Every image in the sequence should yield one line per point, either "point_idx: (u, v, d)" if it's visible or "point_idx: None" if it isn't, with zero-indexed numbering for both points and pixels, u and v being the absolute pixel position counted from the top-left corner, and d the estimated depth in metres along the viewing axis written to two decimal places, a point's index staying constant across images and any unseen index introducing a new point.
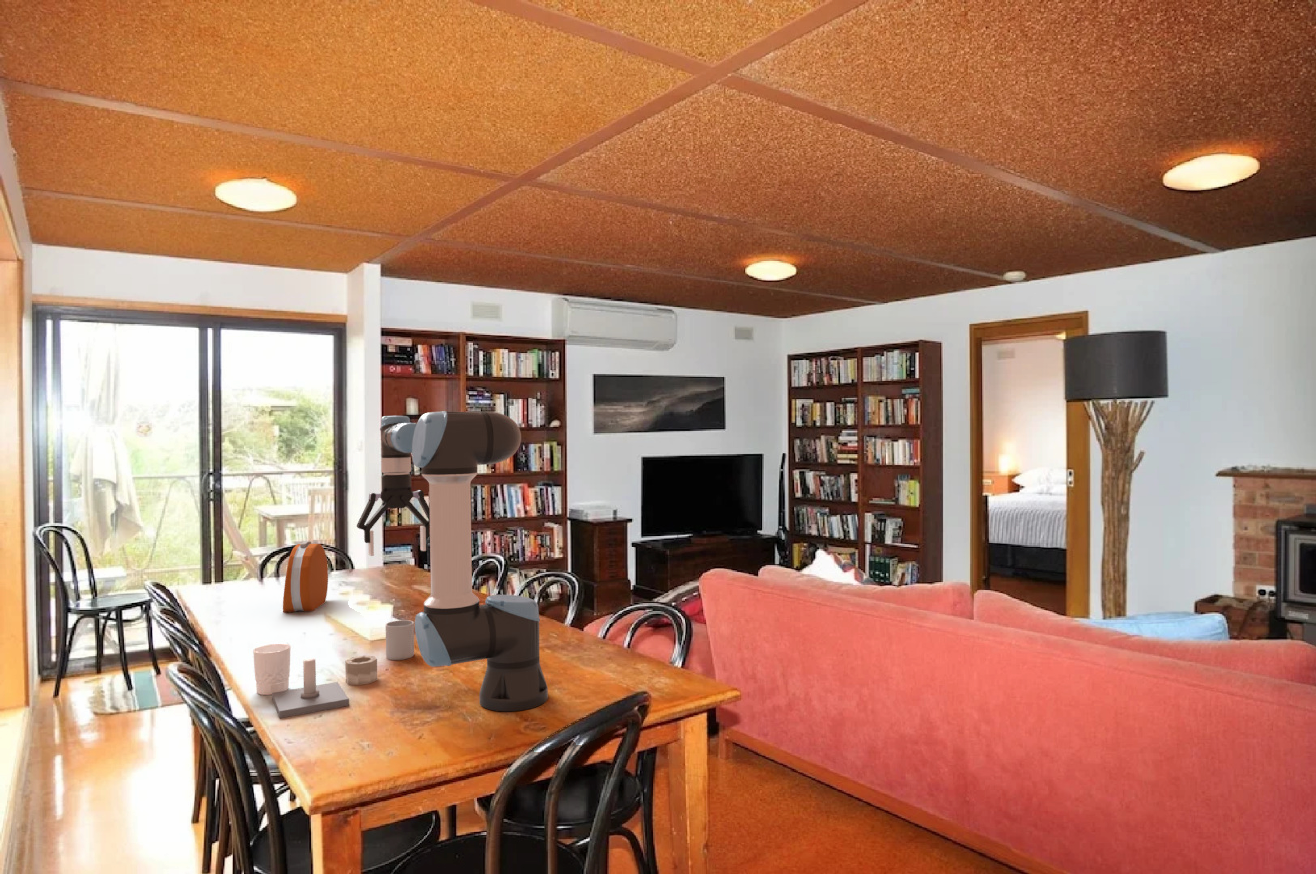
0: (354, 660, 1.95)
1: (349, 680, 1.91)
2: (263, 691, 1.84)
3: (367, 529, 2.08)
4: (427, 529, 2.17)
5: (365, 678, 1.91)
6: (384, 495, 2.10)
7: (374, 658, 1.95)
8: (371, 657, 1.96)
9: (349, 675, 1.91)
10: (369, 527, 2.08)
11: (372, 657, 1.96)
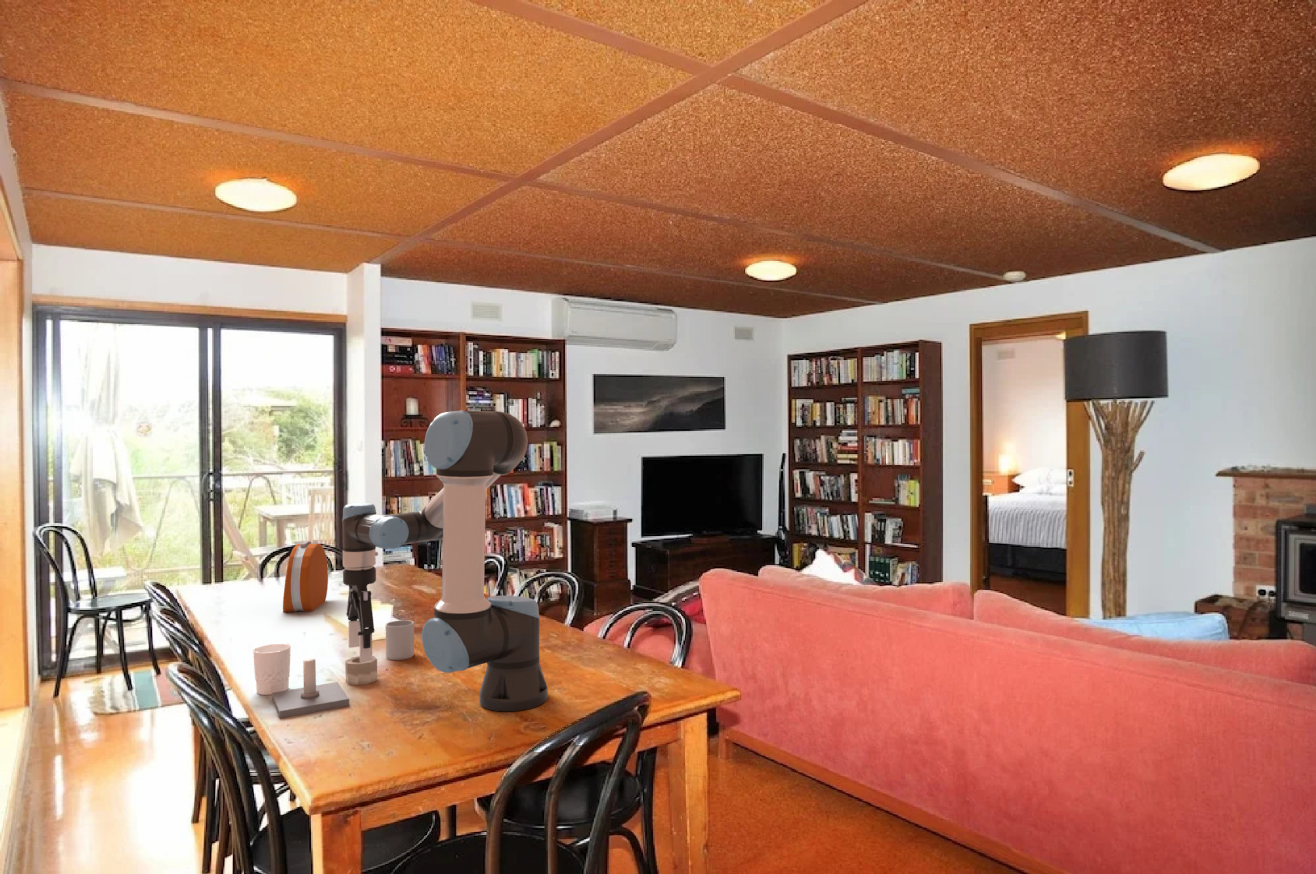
0: (354, 660, 1.95)
1: (349, 680, 1.91)
2: (263, 691, 1.84)
3: (348, 618, 2.00)
4: (363, 638, 1.87)
5: (365, 678, 1.91)
6: (352, 587, 1.96)
7: (374, 658, 1.95)
8: None
9: (349, 675, 1.91)
10: (348, 617, 2.00)
11: (372, 657, 1.96)
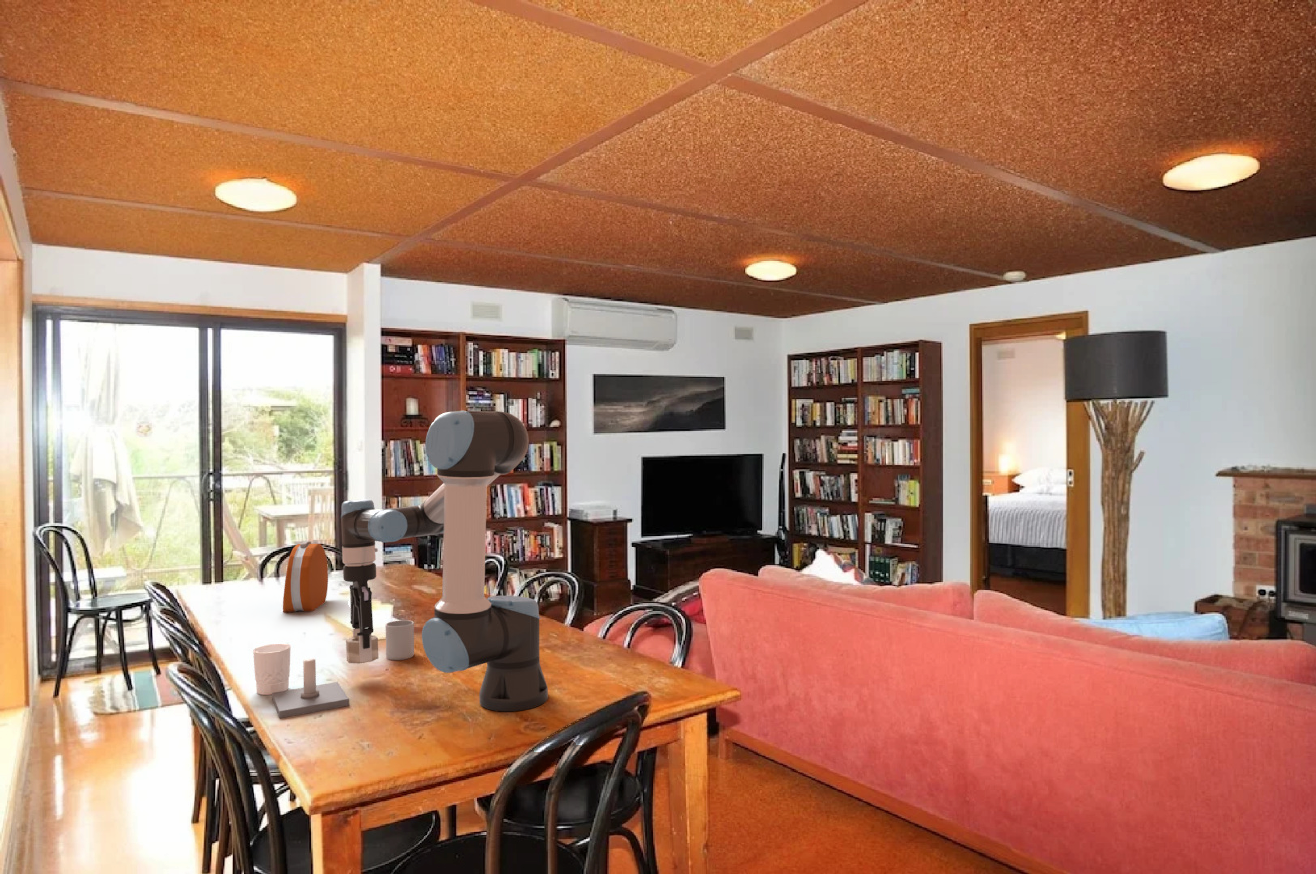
0: (355, 639, 1.94)
1: (350, 659, 1.90)
2: (263, 691, 1.84)
3: (352, 626, 1.97)
4: (363, 639, 1.89)
5: None
6: (352, 585, 1.96)
7: (375, 637, 1.95)
8: (372, 636, 1.95)
9: (350, 654, 1.90)
10: (352, 624, 1.97)
11: (372, 636, 1.96)
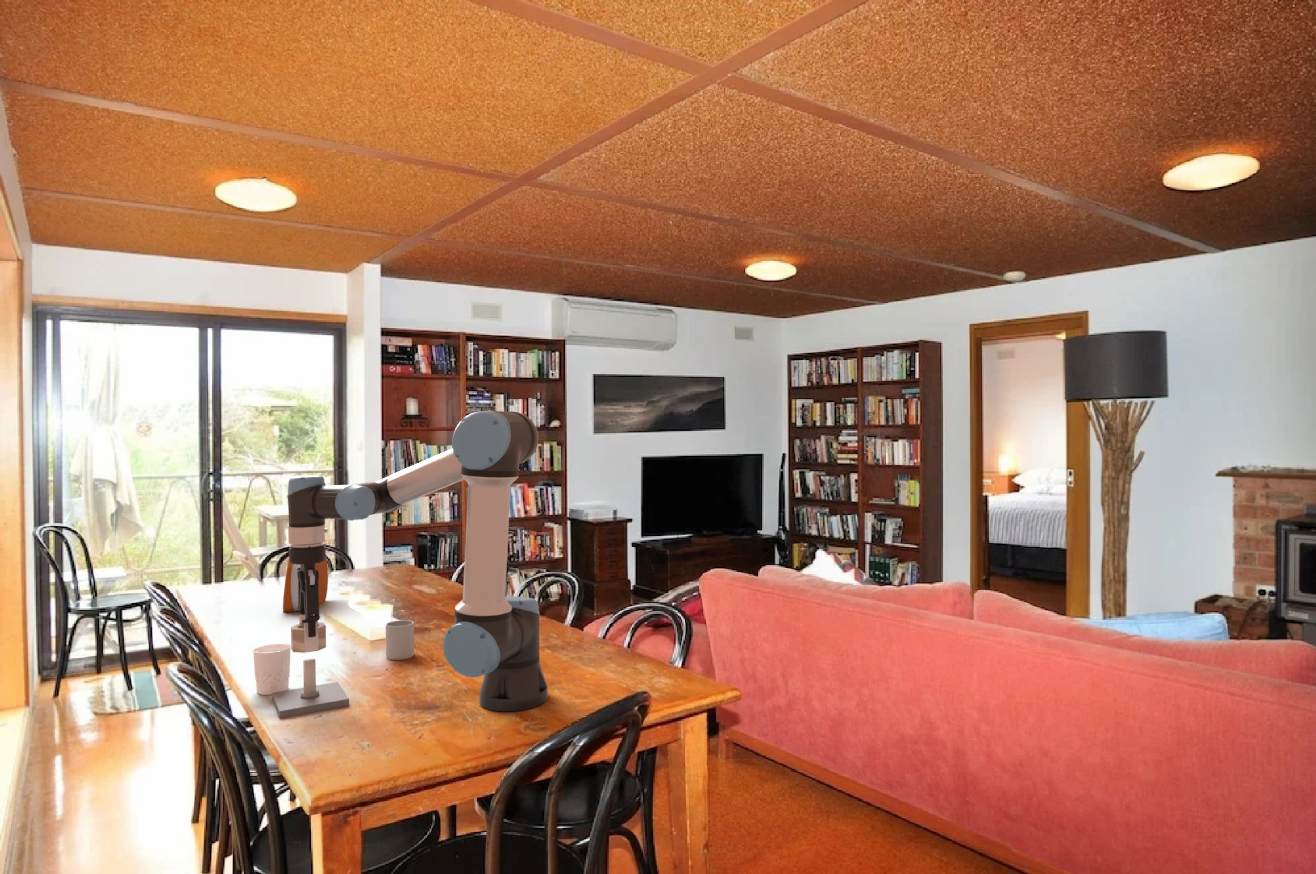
0: (301, 626, 1.79)
1: (294, 647, 1.75)
2: (263, 691, 1.84)
3: (299, 612, 1.82)
4: (308, 626, 1.74)
5: None
6: (300, 568, 1.81)
7: (323, 624, 1.80)
8: (320, 623, 1.80)
9: (294, 642, 1.75)
10: (299, 610, 1.82)
11: (320, 623, 1.81)
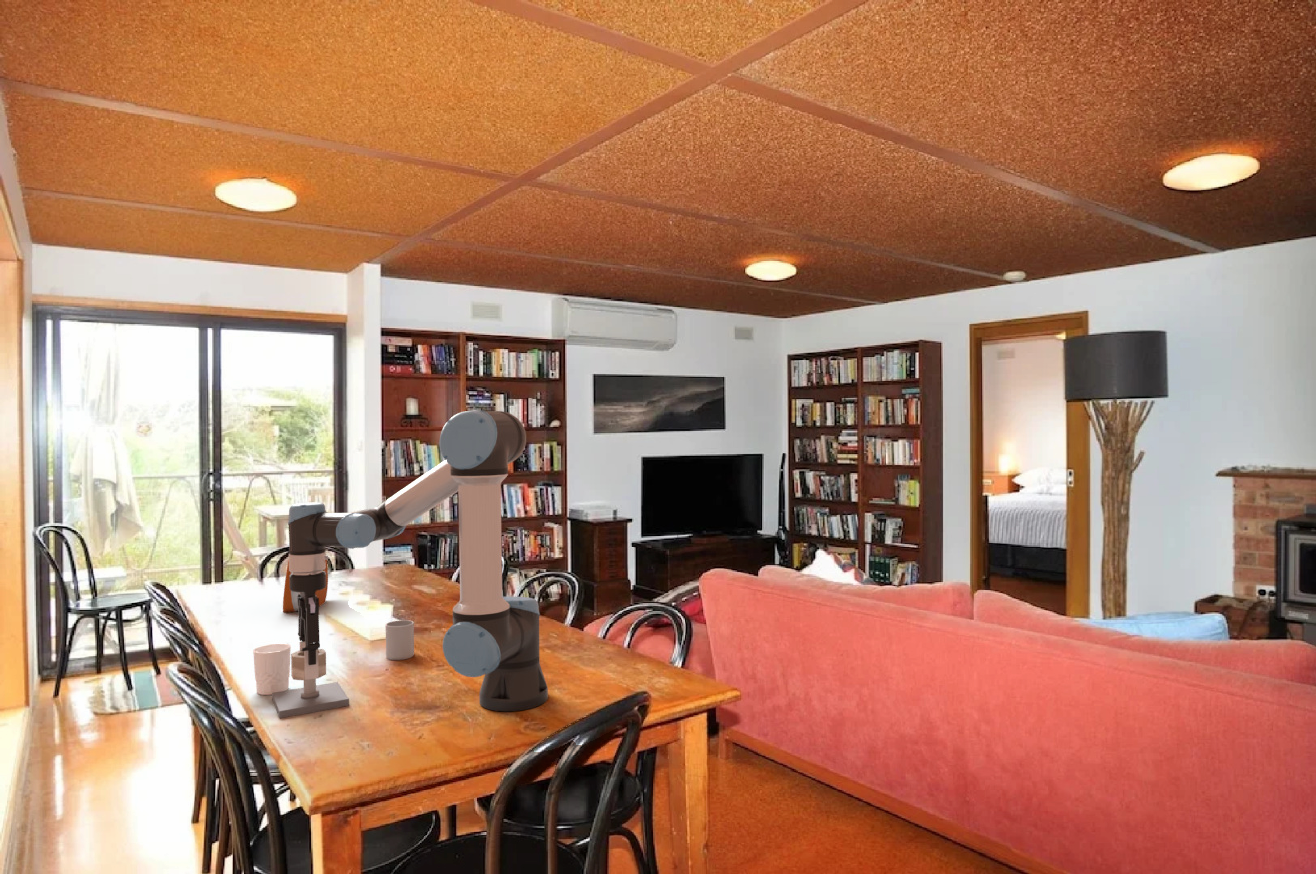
0: (301, 653, 1.79)
1: (294, 675, 1.76)
2: (263, 691, 1.84)
3: None
4: (308, 654, 1.74)
5: None
6: None
7: (323, 651, 1.80)
8: (320, 650, 1.81)
9: (294, 669, 1.76)
10: None
11: (321, 650, 1.81)
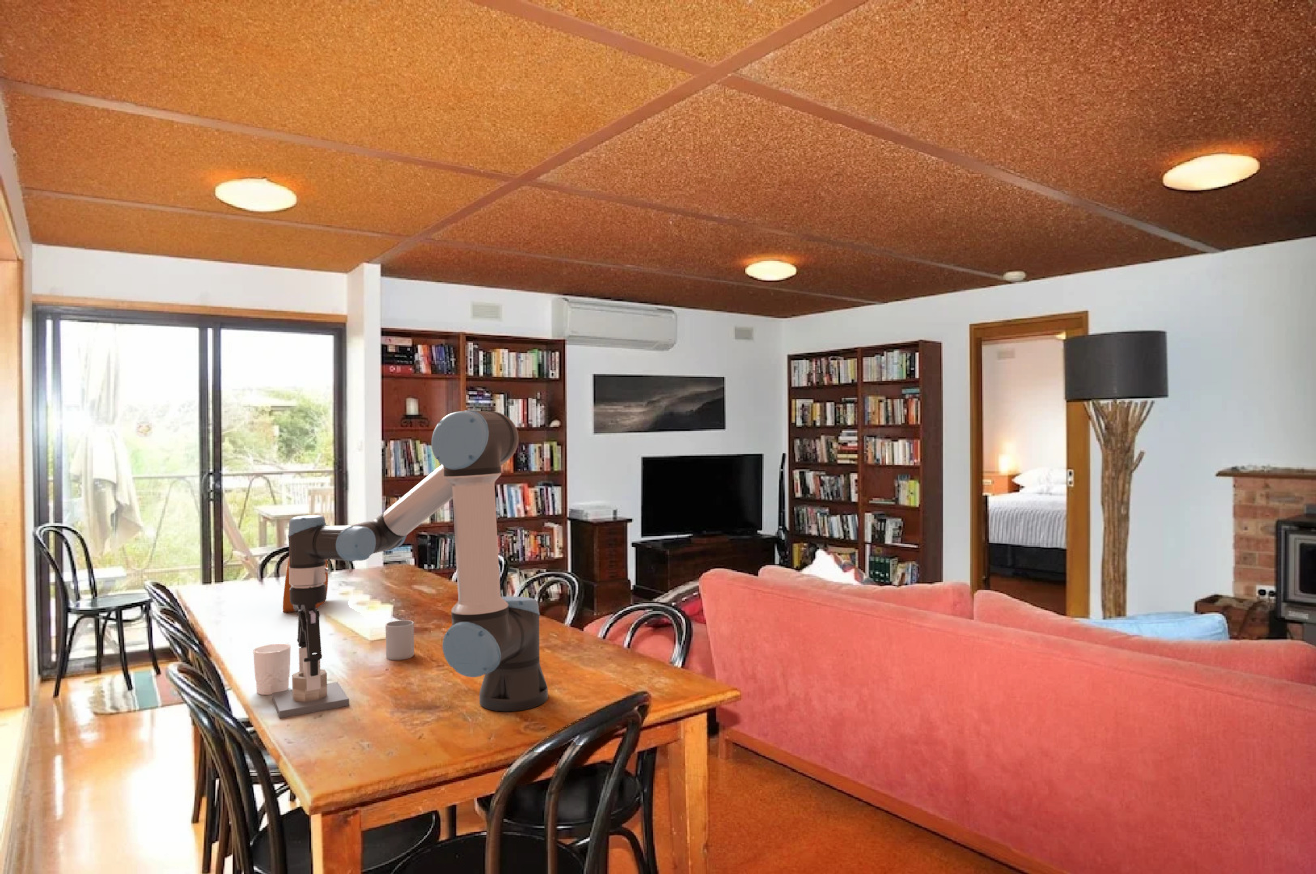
0: (302, 674, 1.79)
1: (295, 696, 1.75)
2: (263, 691, 1.84)
3: (298, 645, 1.84)
4: (310, 665, 1.72)
5: (313, 694, 1.76)
6: (301, 607, 1.81)
7: (324, 672, 1.79)
8: (321, 671, 1.80)
9: (295, 690, 1.75)
10: (299, 643, 1.83)
11: (322, 670, 1.81)
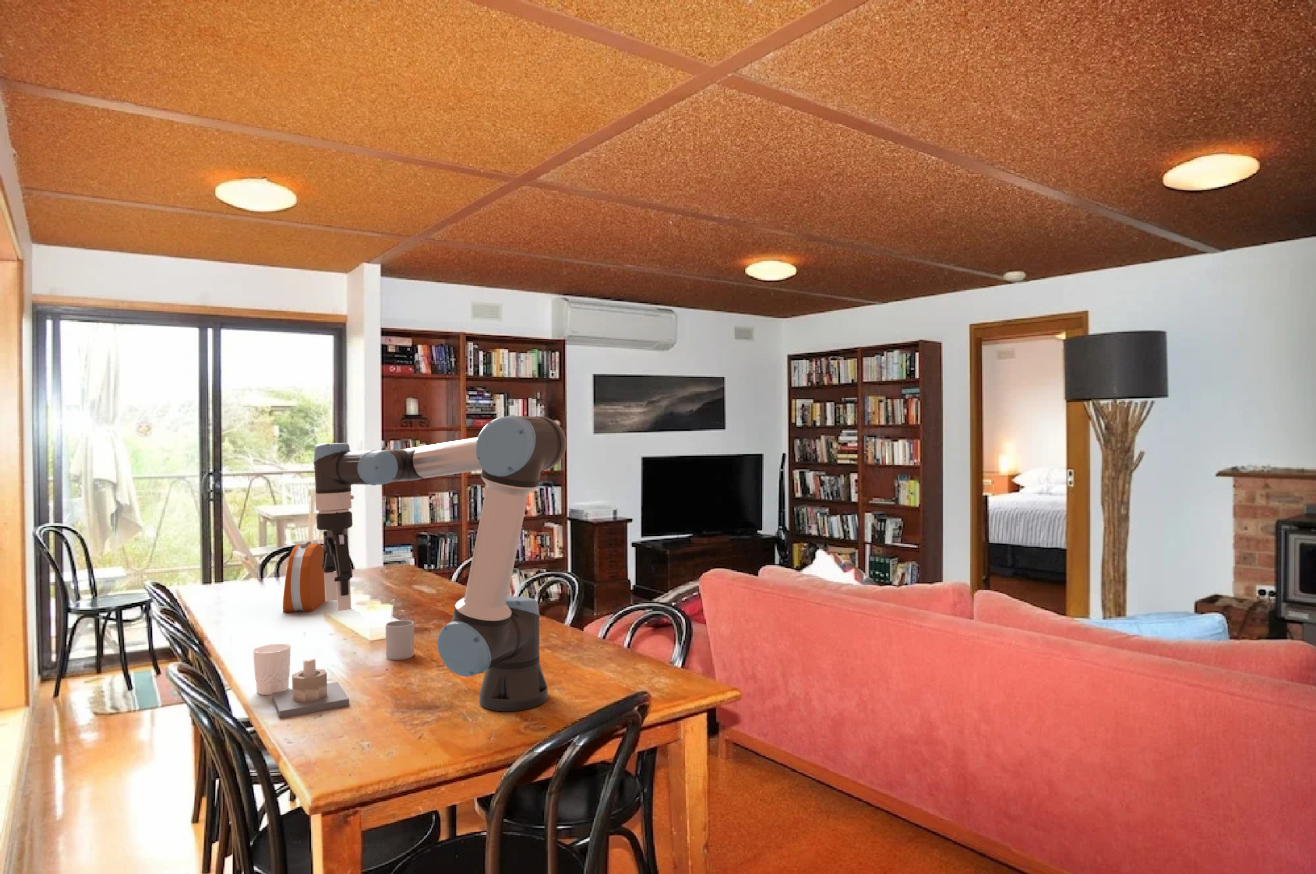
0: (302, 674, 1.79)
1: (295, 696, 1.75)
2: (263, 691, 1.84)
3: None
4: (341, 585, 1.73)
5: (313, 694, 1.76)
6: (327, 535, 1.82)
7: (324, 672, 1.79)
8: (321, 671, 1.80)
9: (295, 690, 1.75)
10: (324, 568, 1.86)
11: (322, 670, 1.81)
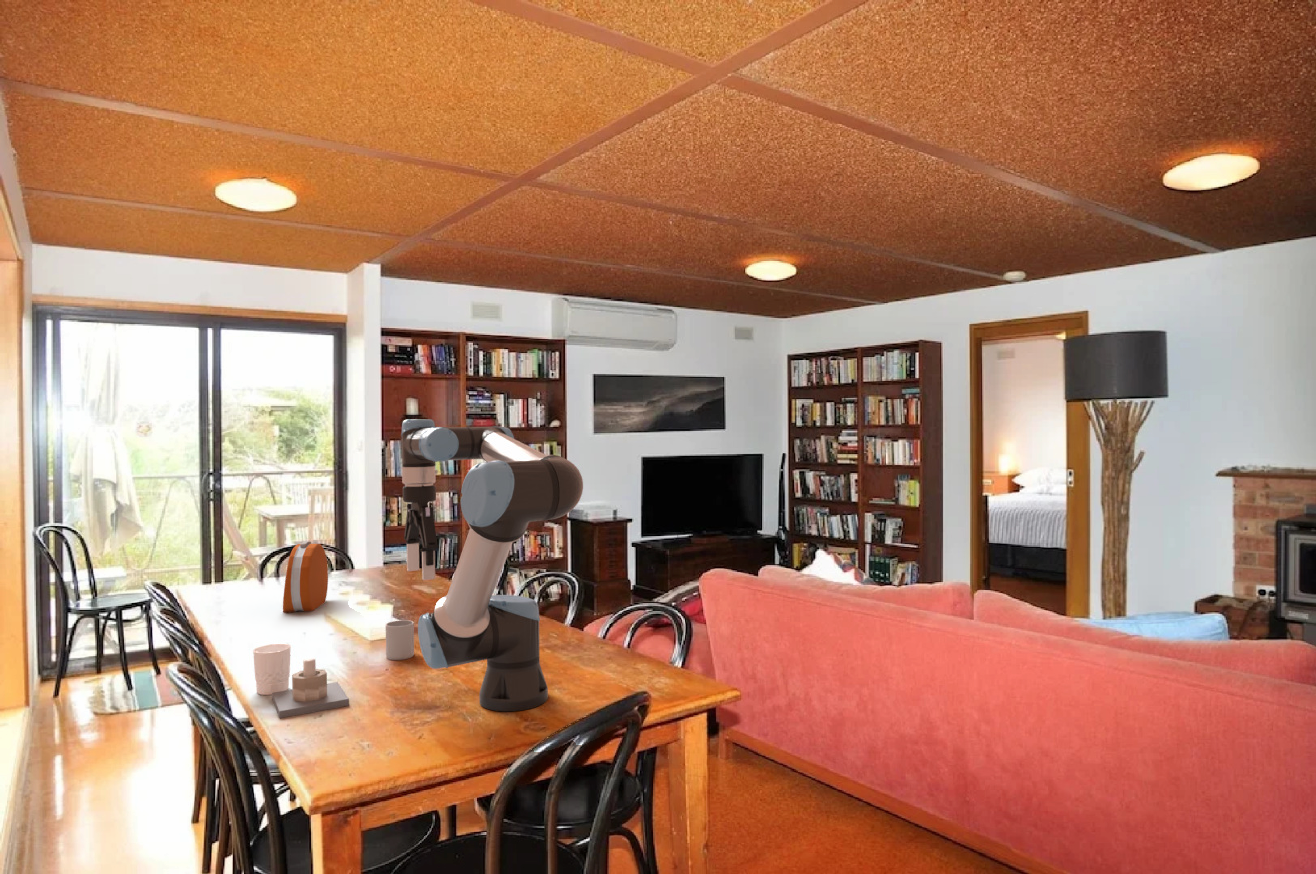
0: (302, 674, 1.79)
1: (295, 696, 1.75)
2: (263, 691, 1.84)
3: (406, 541, 1.93)
4: (426, 555, 1.80)
5: (313, 694, 1.76)
6: (411, 507, 1.90)
7: (324, 672, 1.79)
8: (321, 671, 1.80)
9: (295, 690, 1.75)
10: (406, 540, 1.93)
11: (322, 670, 1.81)
